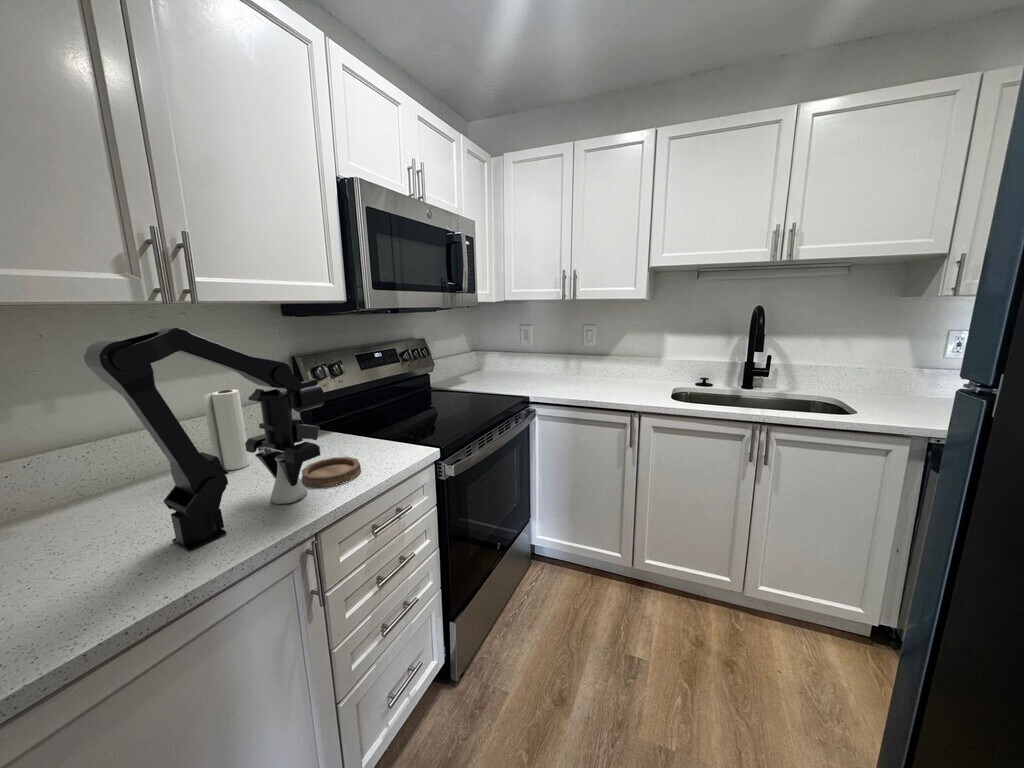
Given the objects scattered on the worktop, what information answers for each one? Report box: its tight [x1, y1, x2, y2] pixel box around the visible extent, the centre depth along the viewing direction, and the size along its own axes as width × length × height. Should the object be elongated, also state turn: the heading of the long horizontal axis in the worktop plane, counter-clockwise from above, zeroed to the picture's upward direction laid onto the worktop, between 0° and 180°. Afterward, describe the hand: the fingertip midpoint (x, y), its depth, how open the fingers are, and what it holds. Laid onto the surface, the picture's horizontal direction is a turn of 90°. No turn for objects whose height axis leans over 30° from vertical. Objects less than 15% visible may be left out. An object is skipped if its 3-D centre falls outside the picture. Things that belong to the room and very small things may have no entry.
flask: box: [269, 454, 308, 505], centre depth 92 cm, size 7×7×10 cm
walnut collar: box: [301, 456, 362, 488], centre depth 105 cm, size 14×14×2 cm
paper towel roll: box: [202, 389, 251, 471], centre depth 110 cm, size 7×6×21 cm
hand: (287, 483), depth 92 cm, fingers closed on flask, 5 cm apart
